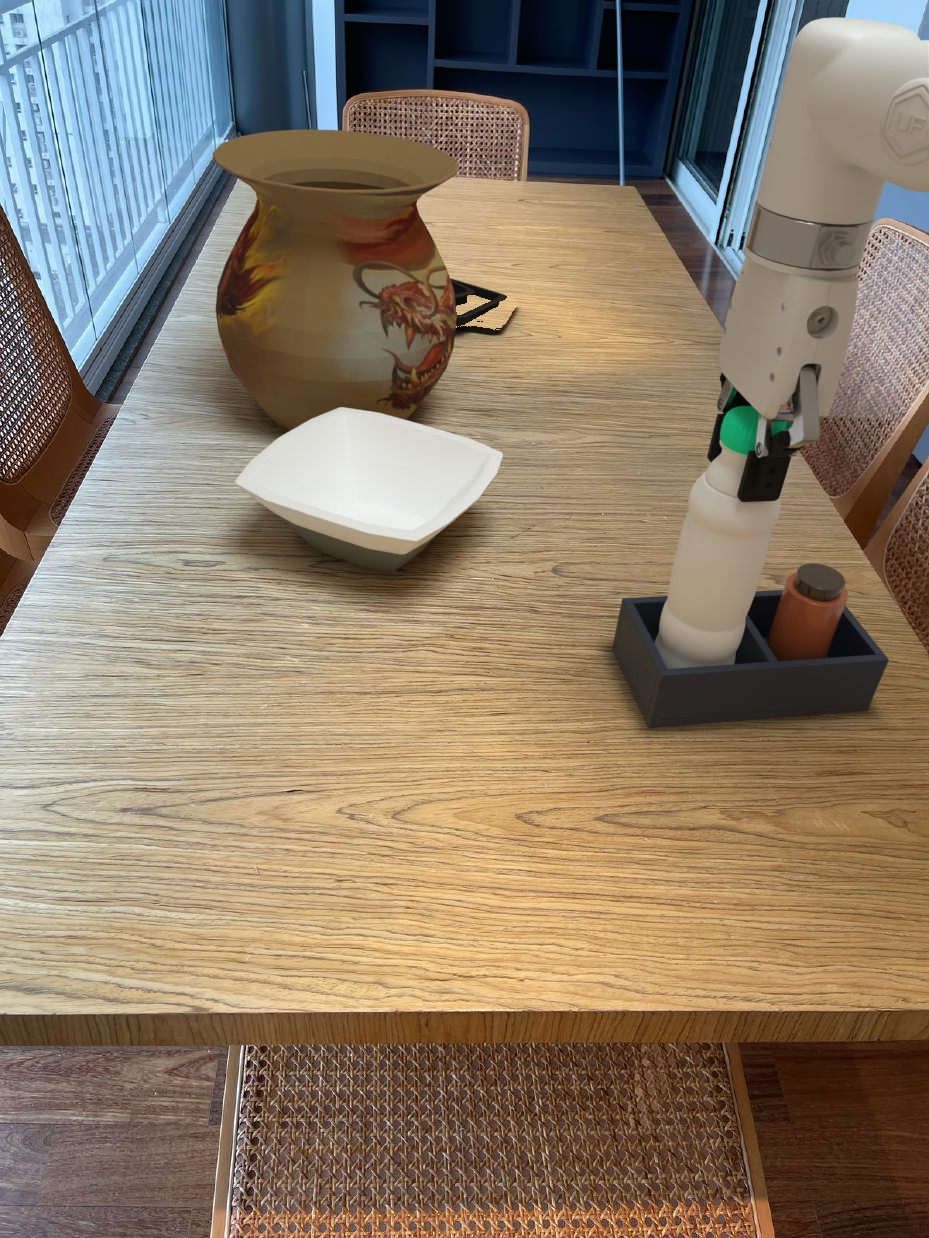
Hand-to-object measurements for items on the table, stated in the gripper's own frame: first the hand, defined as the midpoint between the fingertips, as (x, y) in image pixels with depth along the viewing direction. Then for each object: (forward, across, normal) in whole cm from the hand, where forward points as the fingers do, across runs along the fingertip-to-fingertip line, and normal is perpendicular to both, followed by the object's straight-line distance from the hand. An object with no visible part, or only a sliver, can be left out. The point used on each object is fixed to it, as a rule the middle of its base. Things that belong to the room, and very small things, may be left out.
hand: (741, 477), depth 77 cm
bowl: (+21, +26, +25) cm, 42 cm away
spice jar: (+20, 0, -10) cm, 22 cm away
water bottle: (+20, 0, 0) cm, 20 cm away
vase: (+21, +57, +26) cm, 66 cm away
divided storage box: (+21, 0, -5) cm, 22 cm away
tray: (+21, +89, +10) cm, 92 cm away
